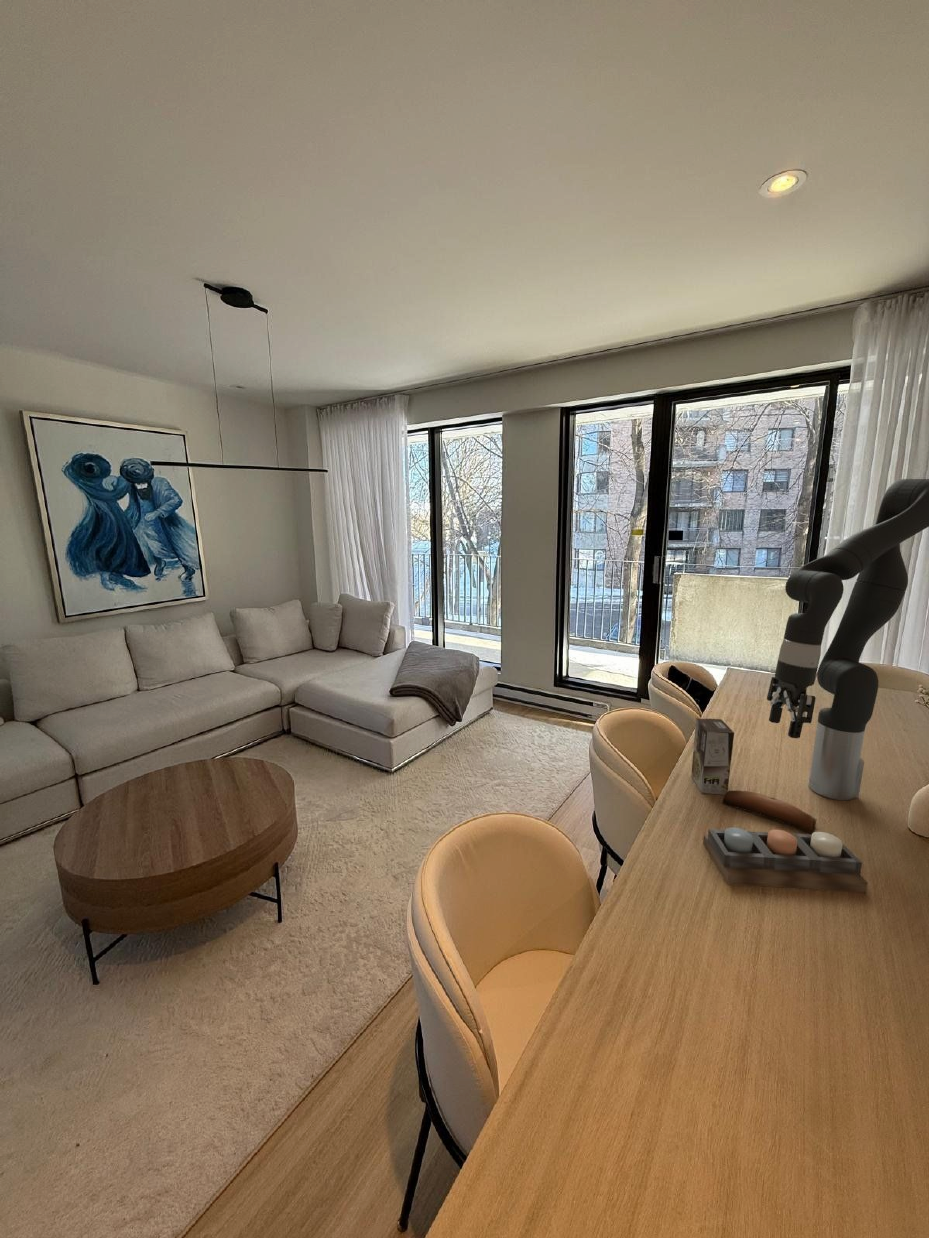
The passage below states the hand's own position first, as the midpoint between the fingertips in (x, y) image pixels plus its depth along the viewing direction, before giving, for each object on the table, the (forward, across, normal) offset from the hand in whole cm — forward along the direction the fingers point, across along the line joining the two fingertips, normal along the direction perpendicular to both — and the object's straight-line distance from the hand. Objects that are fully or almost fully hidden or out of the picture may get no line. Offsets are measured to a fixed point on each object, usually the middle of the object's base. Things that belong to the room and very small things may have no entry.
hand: (783, 729), depth 116 cm
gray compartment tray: (+20, -22, +8) cm, 31 cm away
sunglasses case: (+20, -3, +1) cm, 20 cm away
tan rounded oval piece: (+16, -22, +8) cm, 29 cm away
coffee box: (+20, +8, +10) cm, 24 cm away
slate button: (+17, -22, +16) cm, 33 cm away
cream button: (+16, -22, 0) cm, 27 cm away
